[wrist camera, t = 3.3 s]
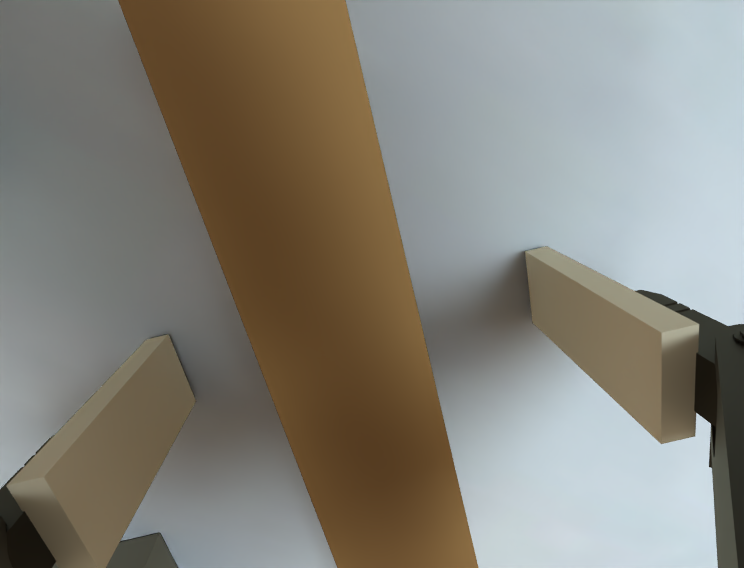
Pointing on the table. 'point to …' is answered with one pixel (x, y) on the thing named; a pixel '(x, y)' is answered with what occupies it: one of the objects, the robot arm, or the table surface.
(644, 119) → the table surface
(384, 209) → the slat
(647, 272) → the table surface
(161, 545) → the end caps
